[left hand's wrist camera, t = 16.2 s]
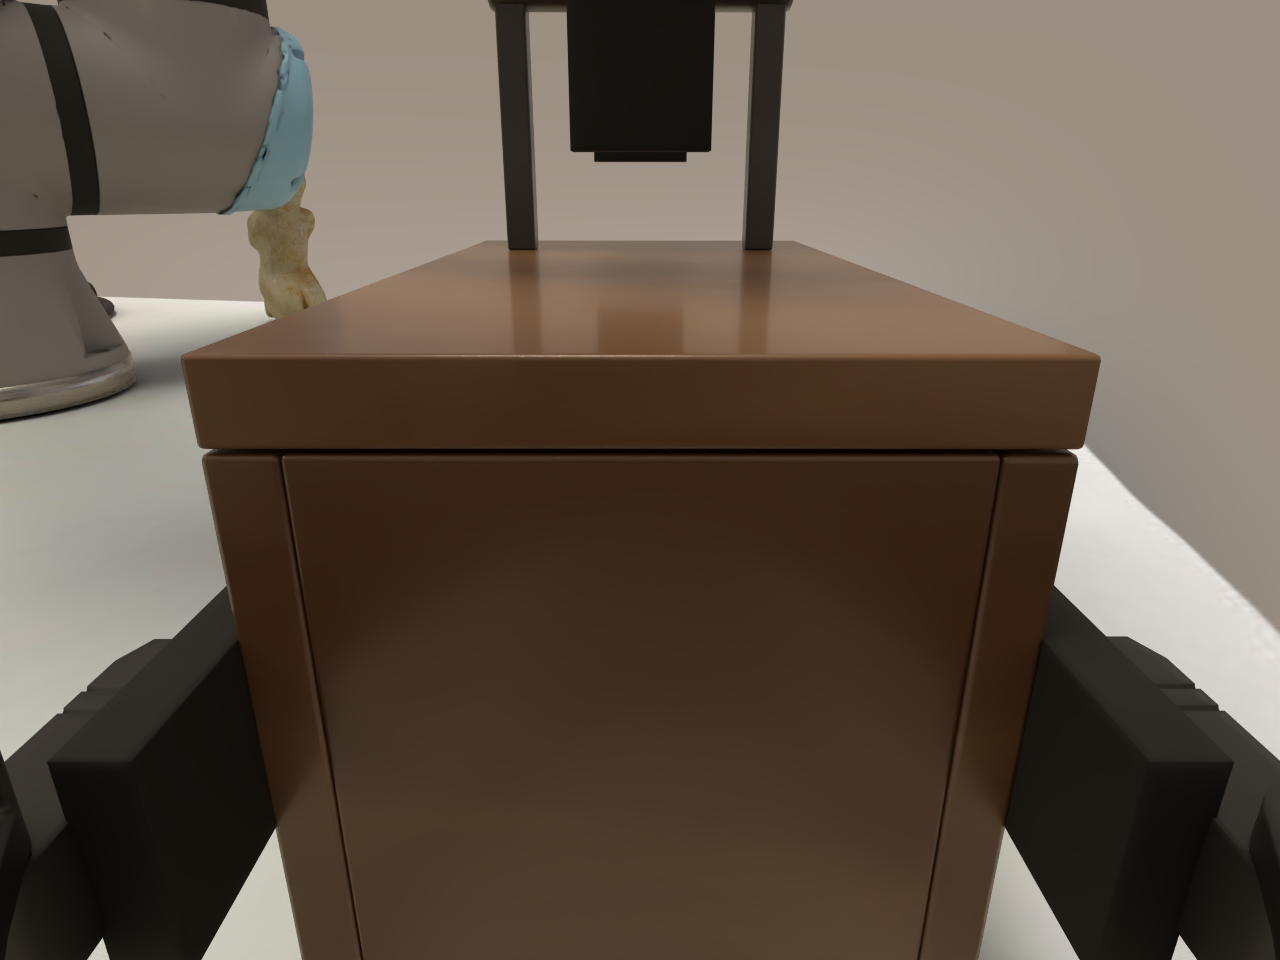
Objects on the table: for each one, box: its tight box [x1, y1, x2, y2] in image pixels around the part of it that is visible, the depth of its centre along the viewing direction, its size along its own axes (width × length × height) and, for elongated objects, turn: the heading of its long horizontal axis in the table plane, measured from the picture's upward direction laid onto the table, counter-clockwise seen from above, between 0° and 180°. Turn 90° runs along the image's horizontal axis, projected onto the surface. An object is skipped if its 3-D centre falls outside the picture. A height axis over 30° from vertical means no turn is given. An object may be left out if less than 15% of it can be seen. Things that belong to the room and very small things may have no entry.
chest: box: [202, 449, 1078, 960], centre depth 17 cm, size 16×9×10 cm, turn 0°
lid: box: [181, 0, 1101, 449], centre depth 15 cm, size 17×9×8 cm, turn 0°
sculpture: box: [247, 176, 327, 319], centre depth 73 cm, size 6×7×15 cm
